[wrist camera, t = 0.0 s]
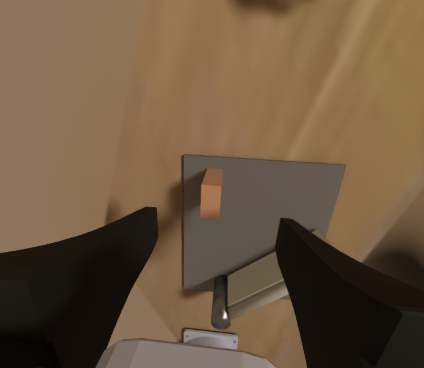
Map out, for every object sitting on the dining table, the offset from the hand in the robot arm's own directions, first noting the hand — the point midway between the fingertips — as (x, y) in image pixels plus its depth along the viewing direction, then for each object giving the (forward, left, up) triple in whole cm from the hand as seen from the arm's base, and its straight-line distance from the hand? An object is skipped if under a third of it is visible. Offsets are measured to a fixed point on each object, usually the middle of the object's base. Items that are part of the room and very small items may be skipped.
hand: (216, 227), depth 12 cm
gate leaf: (-9, -7, -9) cm, 15 cm away
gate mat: (-7, -4, -10) cm, 13 cm away
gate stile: (-1, +1, -10) cm, 10 cm away
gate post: (-14, -1, -10) cm, 17 cm away
